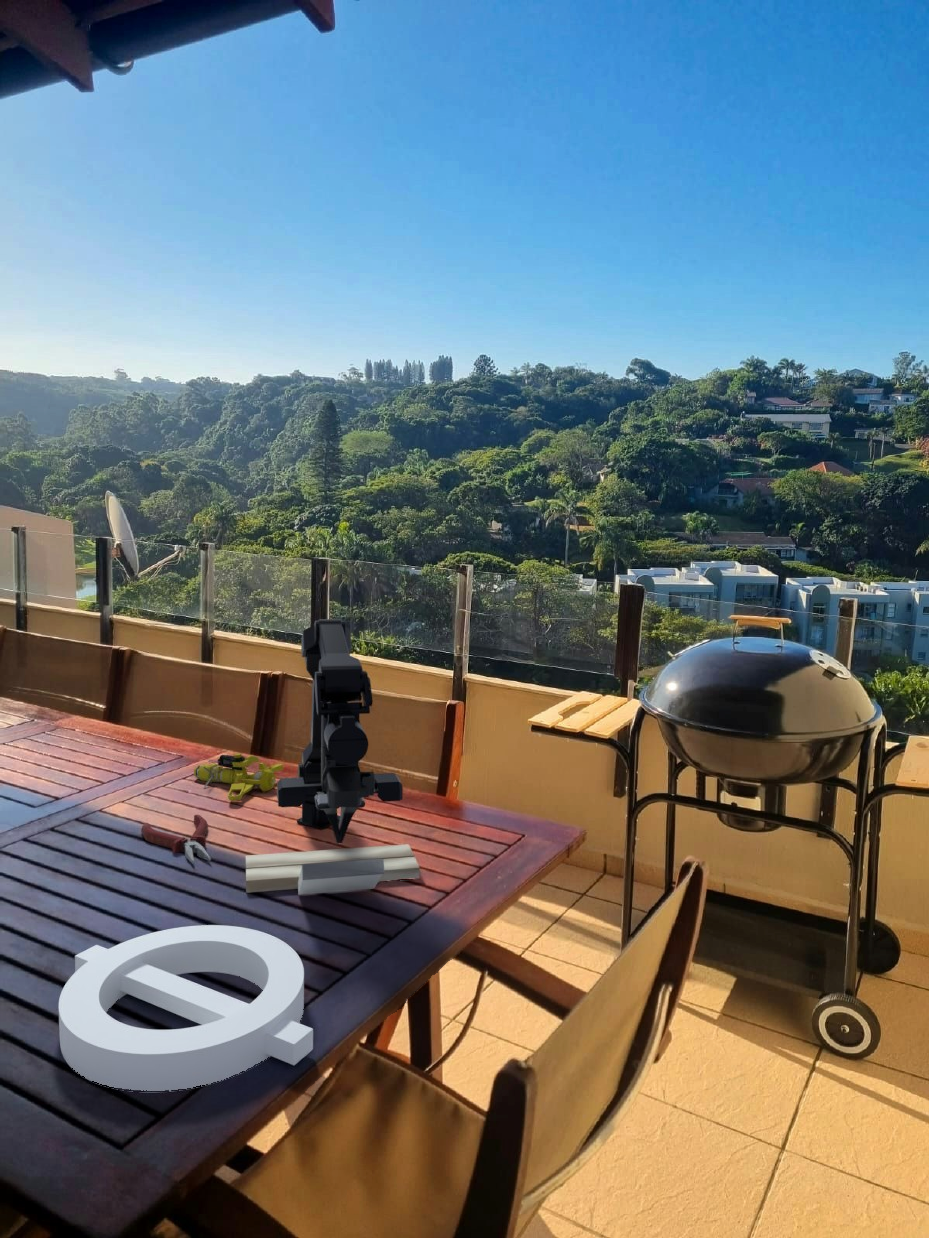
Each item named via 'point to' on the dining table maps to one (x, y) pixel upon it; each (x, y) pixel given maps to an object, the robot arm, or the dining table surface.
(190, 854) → the pliers
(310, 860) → the laid plank
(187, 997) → the ring with crossbar
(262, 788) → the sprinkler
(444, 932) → the dining table surface
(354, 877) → the white square slab
